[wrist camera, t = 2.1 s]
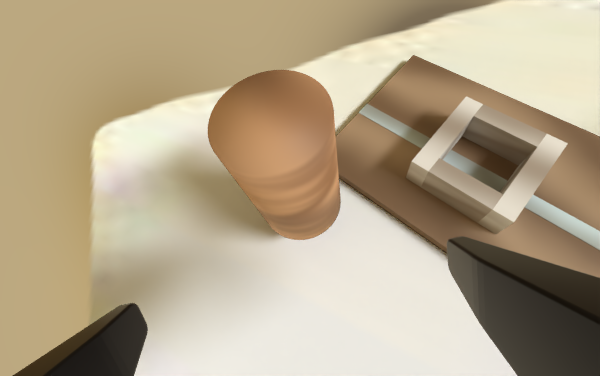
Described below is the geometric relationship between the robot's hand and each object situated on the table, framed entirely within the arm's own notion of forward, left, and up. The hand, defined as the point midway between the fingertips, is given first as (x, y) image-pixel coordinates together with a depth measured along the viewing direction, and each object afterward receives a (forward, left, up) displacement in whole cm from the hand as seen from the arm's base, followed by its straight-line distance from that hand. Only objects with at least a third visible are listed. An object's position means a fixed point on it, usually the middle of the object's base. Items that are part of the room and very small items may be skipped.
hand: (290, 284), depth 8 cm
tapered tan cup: (+5, +6, -13) cm, 15 cm away
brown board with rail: (+16, -3, -13) cm, 21 cm away
